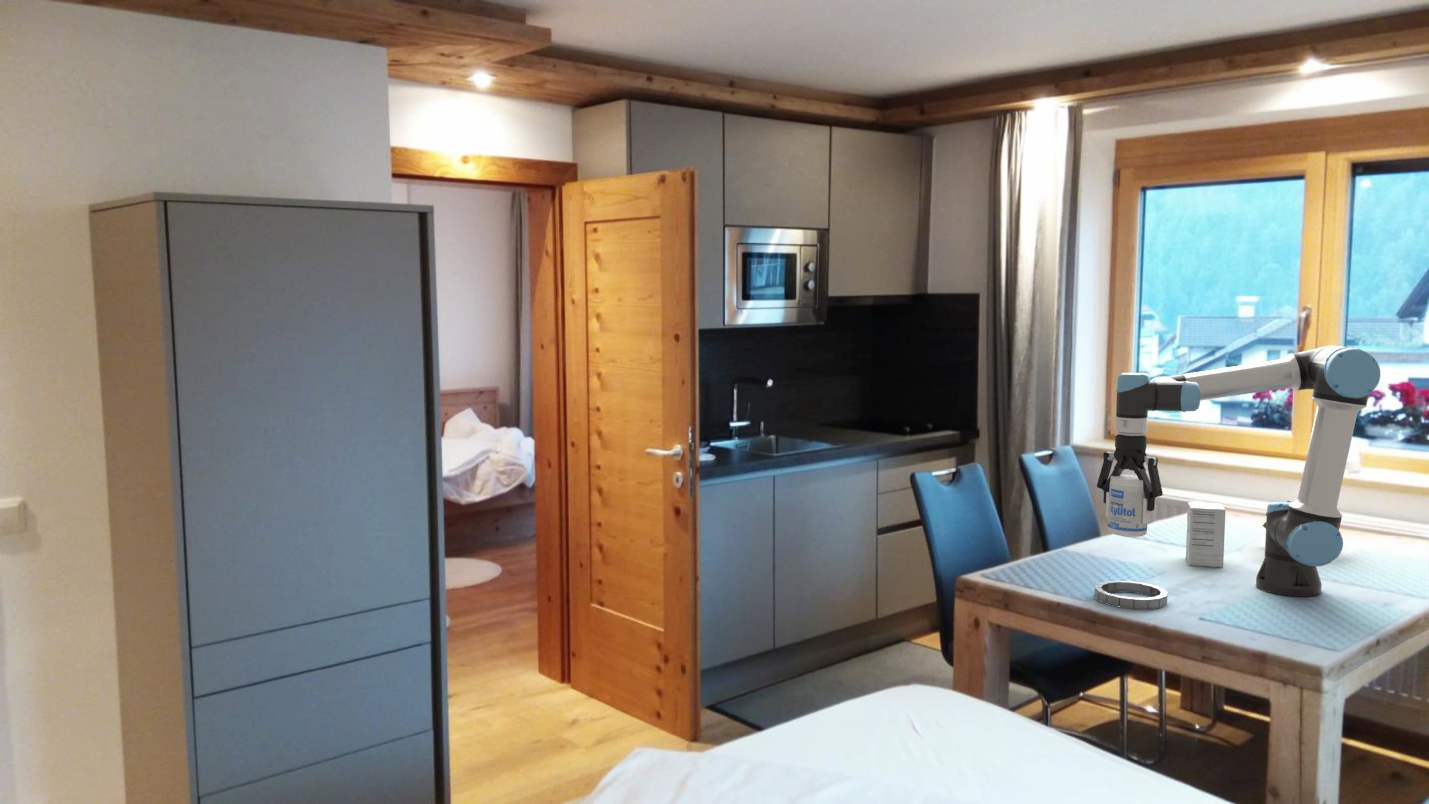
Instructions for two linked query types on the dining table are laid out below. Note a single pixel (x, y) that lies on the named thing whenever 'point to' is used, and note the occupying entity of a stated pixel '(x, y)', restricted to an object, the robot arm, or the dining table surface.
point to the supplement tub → (1126, 506)
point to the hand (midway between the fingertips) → (1127, 519)
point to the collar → (1134, 603)
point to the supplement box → (1205, 534)
